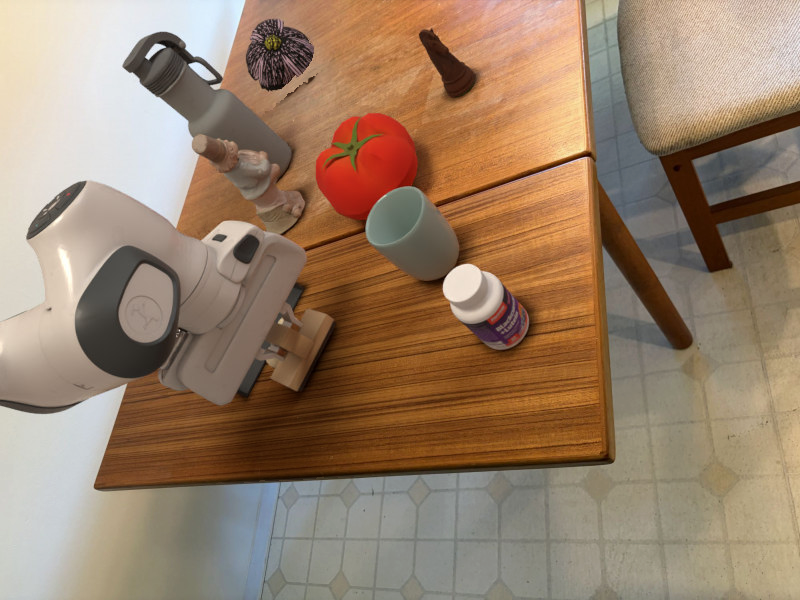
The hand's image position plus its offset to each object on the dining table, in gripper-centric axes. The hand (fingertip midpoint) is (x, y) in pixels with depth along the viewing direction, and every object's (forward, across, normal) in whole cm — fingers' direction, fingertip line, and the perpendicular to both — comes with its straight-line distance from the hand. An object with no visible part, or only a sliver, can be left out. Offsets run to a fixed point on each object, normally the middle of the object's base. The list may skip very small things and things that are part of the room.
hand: (290, 341), depth 69 cm
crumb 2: (+3, +2, +5) cm, 6 cm away
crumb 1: (+3, -2, +5) cm, 6 cm away
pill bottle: (+5, +10, -25) cm, 27 cm away
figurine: (+5, +20, +21) cm, 30 cm away
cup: (+5, +16, -13) cm, 21 cm away
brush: (+4, 0, 0) cm, 4 cm away
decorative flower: (+5, +51, +44) cm, 68 cm away
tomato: (+5, +26, +2) cm, 26 cm away
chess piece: (+5, +44, -2) cm, 44 cm away
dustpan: (+4, 0, +21) cm, 22 cm away
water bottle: (+5, +29, +34) cm, 44 cm away
